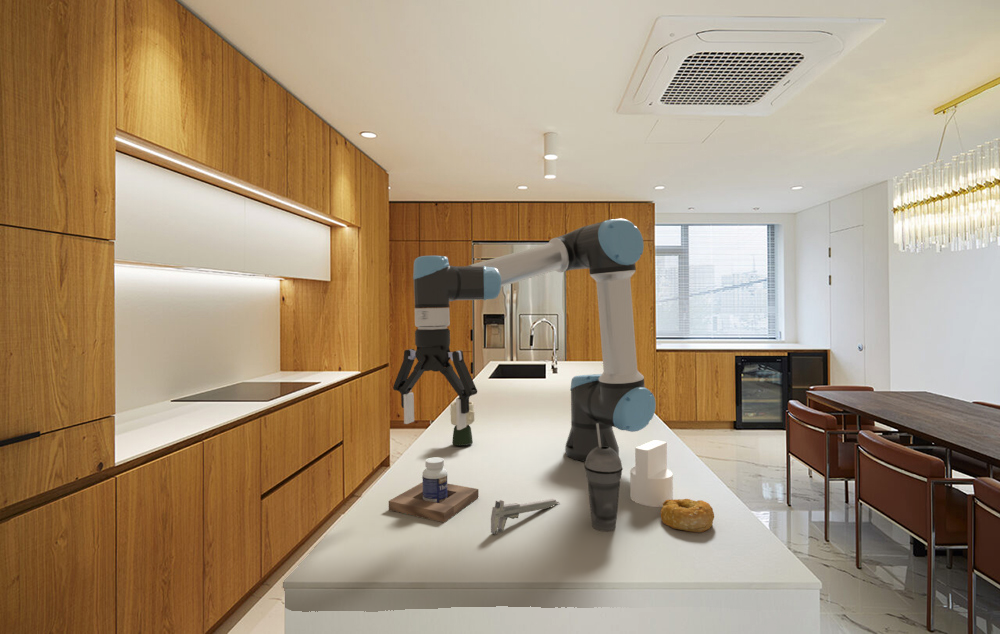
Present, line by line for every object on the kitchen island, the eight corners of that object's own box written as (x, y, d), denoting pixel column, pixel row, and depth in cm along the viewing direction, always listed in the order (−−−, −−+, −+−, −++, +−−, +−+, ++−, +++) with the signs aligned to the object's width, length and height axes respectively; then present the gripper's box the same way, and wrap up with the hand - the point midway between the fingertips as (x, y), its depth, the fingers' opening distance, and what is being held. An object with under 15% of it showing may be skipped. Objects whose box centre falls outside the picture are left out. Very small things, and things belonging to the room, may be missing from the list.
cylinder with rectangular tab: (643, 488, 117) (643, 437, 117) (680, 498, 110) (680, 444, 110) (622, 498, 111) (622, 445, 110) (660, 510, 104) (660, 453, 104)
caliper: (495, 537, 93) (494, 504, 93) (490, 535, 94) (490, 502, 94) (559, 504, 108) (559, 475, 108) (555, 503, 109) (555, 474, 109)
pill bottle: (443, 510, 105) (442, 464, 105) (419, 508, 107) (418, 463, 106) (450, 500, 111) (450, 456, 110) (427, 498, 112) (427, 455, 112)
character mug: (482, 446, 153) (482, 403, 152) (465, 450, 148) (464, 407, 147) (460, 439, 161) (459, 399, 160) (442, 443, 156) (442, 402, 155)
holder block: (478, 497, 112) (478, 489, 112) (444, 522, 99) (444, 512, 99) (426, 488, 118) (426, 479, 118) (388, 510, 105) (388, 500, 105)
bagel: (702, 511, 104) (702, 489, 103) (722, 536, 93) (722, 511, 93) (653, 511, 104) (653, 488, 104) (668, 535, 93) (668, 510, 93)
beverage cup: (615, 538, 92) (615, 430, 92) (578, 528, 96) (578, 425, 95) (627, 523, 98) (627, 422, 98) (592, 515, 102) (592, 418, 102)
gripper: (375, 328, 110) (378, 424, 110) (474, 329, 99) (476, 435, 99) (397, 326, 117) (399, 416, 117) (491, 327, 105) (493, 426, 106)
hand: (434, 425), depth 108 cm, fingers open, 13 cm apart
